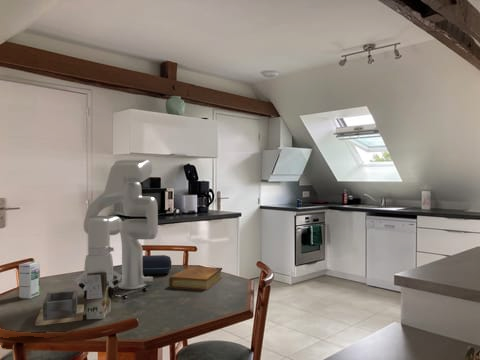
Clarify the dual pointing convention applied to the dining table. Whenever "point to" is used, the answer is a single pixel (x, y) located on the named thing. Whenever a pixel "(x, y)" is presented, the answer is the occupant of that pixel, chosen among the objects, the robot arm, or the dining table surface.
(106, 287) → the coffee box
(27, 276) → the syrup box
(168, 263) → the portable speaker
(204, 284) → the diary
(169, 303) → the dining table surface
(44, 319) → the frame
